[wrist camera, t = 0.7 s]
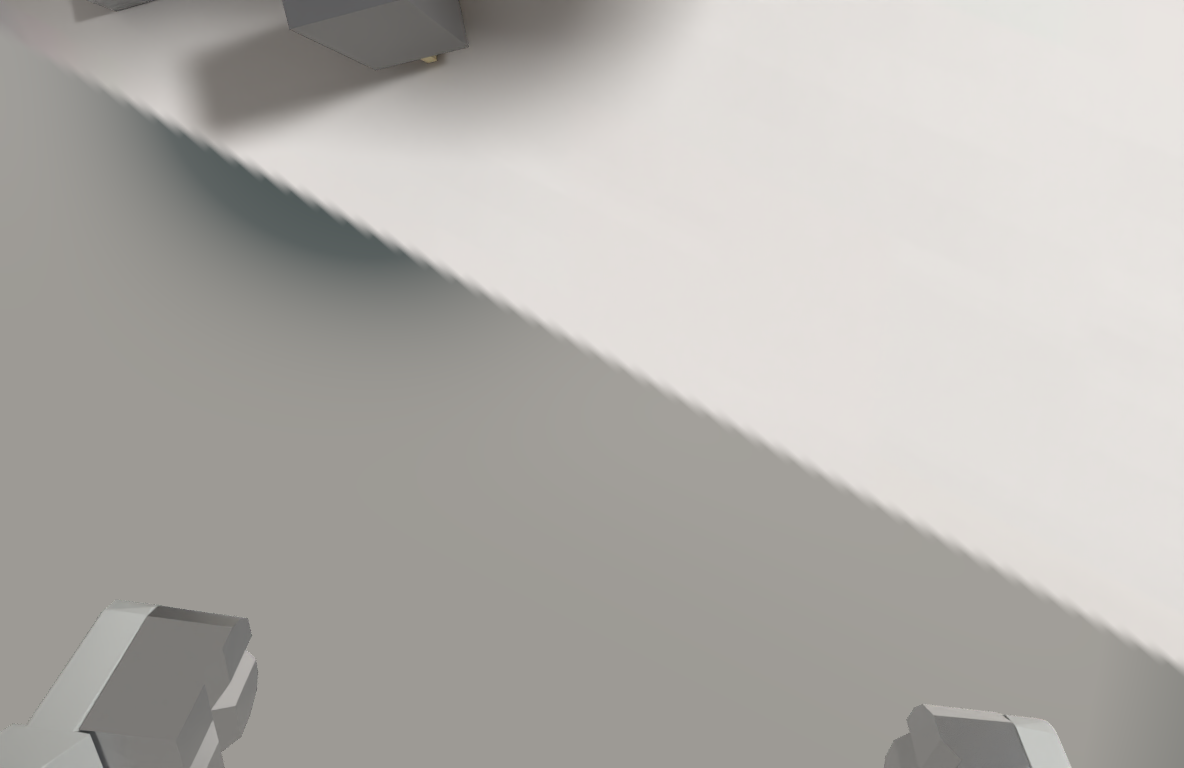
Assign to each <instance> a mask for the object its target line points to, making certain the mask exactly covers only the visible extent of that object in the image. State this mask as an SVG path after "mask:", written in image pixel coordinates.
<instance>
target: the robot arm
mask: <svg viewBox="0 0 1184 768" xmlns="http://www.w3.org/2000/svg"><path fill="white" fill-rule="evenodd" d="M251 637H252V634H251V629H250V625H249V621H248V618H242V617H236V616H229V615H222V614H215V613H207V612H201V611H194V610H186V609H180V608H173V607H165V606H162V605H155V604H147V603H139V602H130V601H122V600H115V601H114V602H113V603H112V604H110V605H109V606H108V607H107V608H106V609H104V610H103V611H102V612H101V614H100V615H99V617H98V618H97V620H96V621H95V623H94V624H93V626H92V627H91V629H90V630H89V632H88V633H87V635H86V636H85V638H84V639H83V641H82V642H81V644H80V645H79V647H78V648H77V650H76V651H75V653H74V654H73V656H72V657H71V659H70V660H69V662H68V663H67V665H66V666H65V668H64V669H63V671H62V672H61V673H60V675H59V677H58V678H57V680H56V681H55V682H54V684H53V685H52V687H51V688H50V690H49V691H48V693H47V694H46V696H45V697H44V699H43V701H42V702H41V703H40V705H39V706H38V708H37V709H36V711H35V712H34V714H33V716H32V717H31V719H30V720H29V721H28V723H27V724H26V725H21V724H12V725H10V726H8V727H7V728H5V729H4V730H2V731H1V732H0V768H225V767H224V763H223V758H222V754H221V752H222V751H223V750H225V749H226V748H227V747H229V746H230V745H231V744H233V743H234V742H235V741H236V740H238V739H239V738H240V737H241V736H242V734H243V731H244V729H245V726H246V724H247V721H248V719H249V717H250V714H251V710H252V706H253V702H254V699H255V695H256V691H257V679H258V669H257V663H256V658H254V657H253V656H252V655H251V654H250V653H249V652H247V650H246V647H247V645H248V643H249V641H250V639H251ZM907 723H908V727H909V731H910V733H908V734H906V735H904V736H902V737H900V738H898V739H896V740H894V741H893V743H892V745H891V747H890V749H889V751H888V753H887V755H886V757H885V764H884V768H1071V765H1070V763H1069V761H1068V758H1067V756H1066V754H1065V752H1064V749H1063V747H1062V744H1061V742H1060V740H1059V738H1058V735H1057V733H1056V731H1055V729H1054V728H1053V727H1052V726H1051V725H1050V724H1049V723H1048V722H1047V721H1046V720H1042V719H1039V718H1031V717H1021V716H1012V715H1002V714H1000V713H998V712H989V711H980V710H971V709H963V708H954V707H945V706H936V705H926V704H922V705H919V706H917V707H915V708H914V709H913V710H912V712H911V713H910V715H909V717H908V718H907Z"/></svg>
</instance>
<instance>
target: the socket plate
mask: <svg viewBox="0 0 1184 768" xmlns="http://www.w3.org/2000/svg"><path fill="white" fill-rule="evenodd" d="M87 1H90V2H93V3H95V4H98V5H101V6H104V7H106V8H109V9H112V10H114V11H118V10H122V9H125V8H129V7H132V6H136V5H140V4H143V3H147V2H150V1H154V0H87Z"/></svg>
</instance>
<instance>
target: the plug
mask: <svg viewBox="0 0 1184 768" xmlns="http://www.w3.org/2000/svg"><path fill="white" fill-rule="evenodd" d="M283 4H284V9H285V13H286V17H287V21H288V25H289V29H290V30H292V31H294V32H296V33H298V34H301V35H303V36H305V37H307V38H309V39H311V40H313V41H315V42H317V43H319V44H322V45H324V46H326V47H328V48H330V49H332V50H334V51H336V52H338V53H340V54H343V55H345V56H347V57H349V58H351V59H353V60H355V61H357V62H359V63H361V64H364V65H366V66H368V67H370V68H372V69H374V70H379V69H383V68H387V67H391V66H395V65H399V64H403V63H407V62H411V61H415V60H419V59H421V60H423V61H425V62H426V63H430V62H434V61H437V57H436V55H439V54H442V53H446V52H450V51H454V50H458V49H462V48H466V47H469V46H468V41H467V37H466V32H465V27H464V23H463V18H462V13H461V9H460V4H459V0H283Z"/></svg>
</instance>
